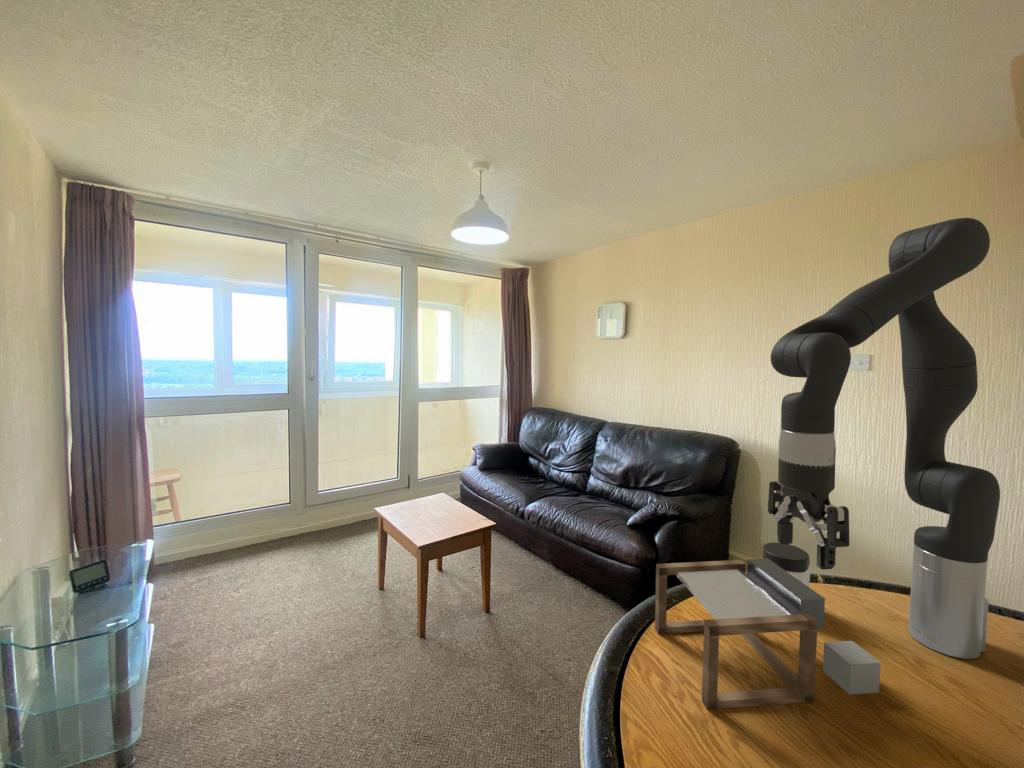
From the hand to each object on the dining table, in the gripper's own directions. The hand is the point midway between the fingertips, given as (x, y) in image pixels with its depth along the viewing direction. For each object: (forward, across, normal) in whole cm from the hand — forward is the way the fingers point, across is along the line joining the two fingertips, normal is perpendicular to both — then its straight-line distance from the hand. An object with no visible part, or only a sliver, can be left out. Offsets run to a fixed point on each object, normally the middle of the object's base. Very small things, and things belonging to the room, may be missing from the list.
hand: (803, 554), depth 68 cm
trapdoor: (+10, +3, +8) cm, 13 cm away
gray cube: (+20, -3, -6) cm, 21 cm away
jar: (+20, +17, -10) cm, 29 cm away
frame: (+20, +3, +11) cm, 23 cm away
